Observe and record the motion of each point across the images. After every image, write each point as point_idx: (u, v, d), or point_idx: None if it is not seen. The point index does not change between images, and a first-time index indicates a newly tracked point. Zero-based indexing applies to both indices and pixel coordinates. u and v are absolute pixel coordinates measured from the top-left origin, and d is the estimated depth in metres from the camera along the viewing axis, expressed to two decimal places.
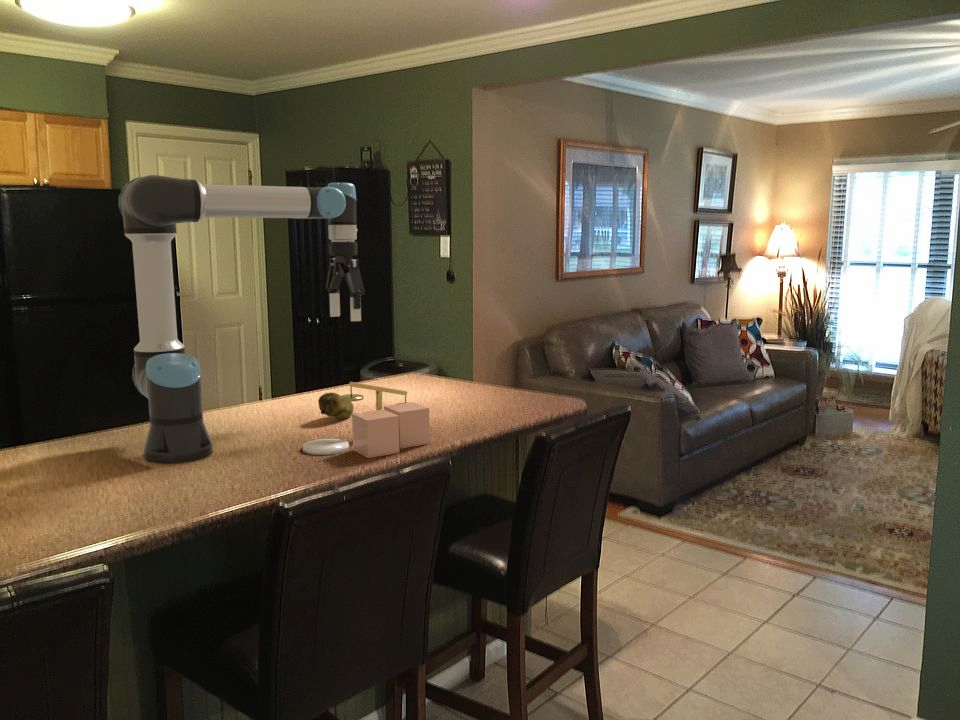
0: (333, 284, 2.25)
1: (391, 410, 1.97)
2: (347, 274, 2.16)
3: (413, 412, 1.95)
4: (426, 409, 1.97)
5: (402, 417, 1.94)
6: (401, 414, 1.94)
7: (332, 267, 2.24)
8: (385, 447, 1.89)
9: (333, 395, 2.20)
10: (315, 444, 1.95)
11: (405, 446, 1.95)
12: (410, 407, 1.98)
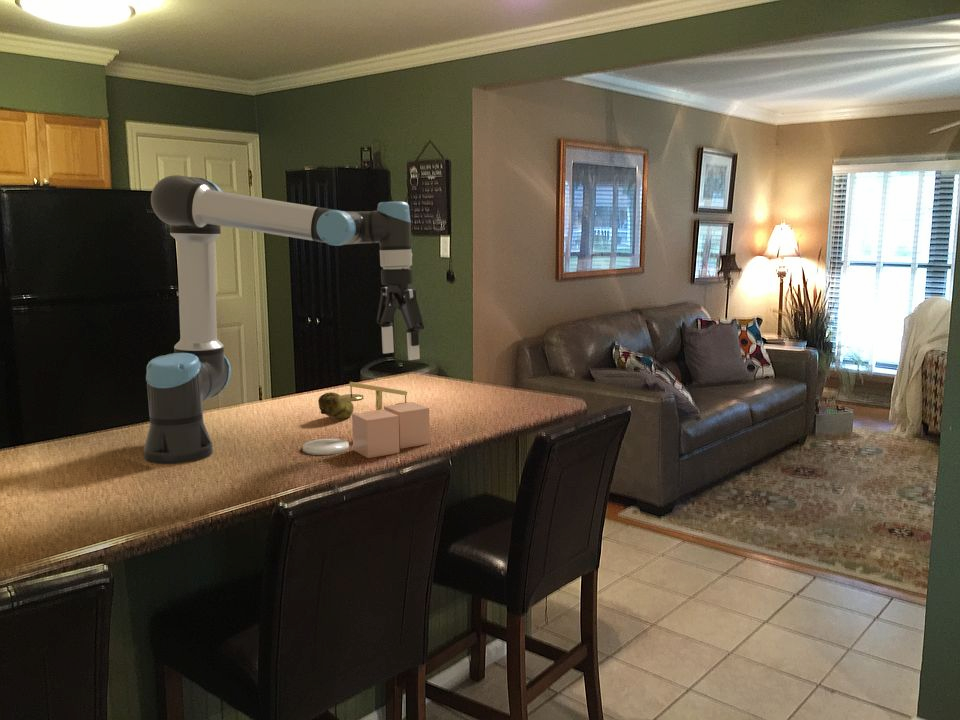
0: (386, 317, 1.97)
1: (391, 410, 1.97)
2: (403, 306, 1.89)
3: (413, 412, 1.95)
4: (426, 409, 1.97)
5: (402, 417, 1.94)
6: (401, 414, 1.94)
7: (384, 297, 1.97)
8: (385, 447, 1.89)
9: (333, 395, 2.20)
10: (315, 444, 1.95)
11: (405, 446, 1.95)
12: (410, 407, 1.98)
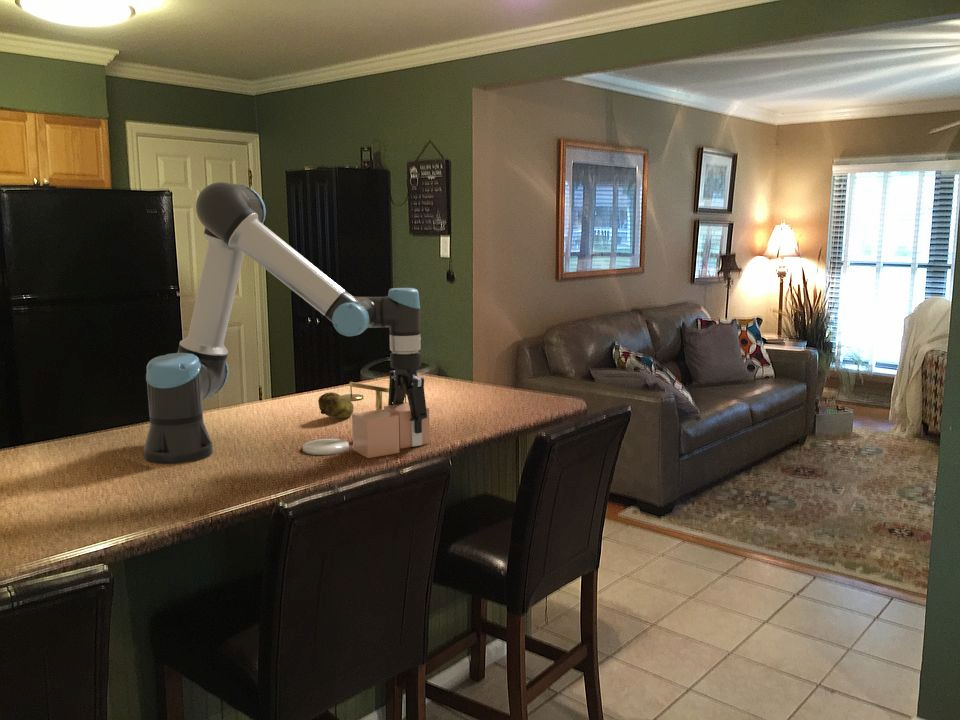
0: (396, 401, 2.01)
1: (391, 410, 1.97)
2: (409, 392, 1.95)
3: None
4: (426, 409, 1.97)
5: (402, 417, 1.94)
6: (401, 414, 1.94)
7: (393, 380, 2.02)
8: (385, 447, 1.89)
9: (333, 395, 2.20)
10: (315, 444, 1.95)
11: (405, 446, 1.95)
12: None
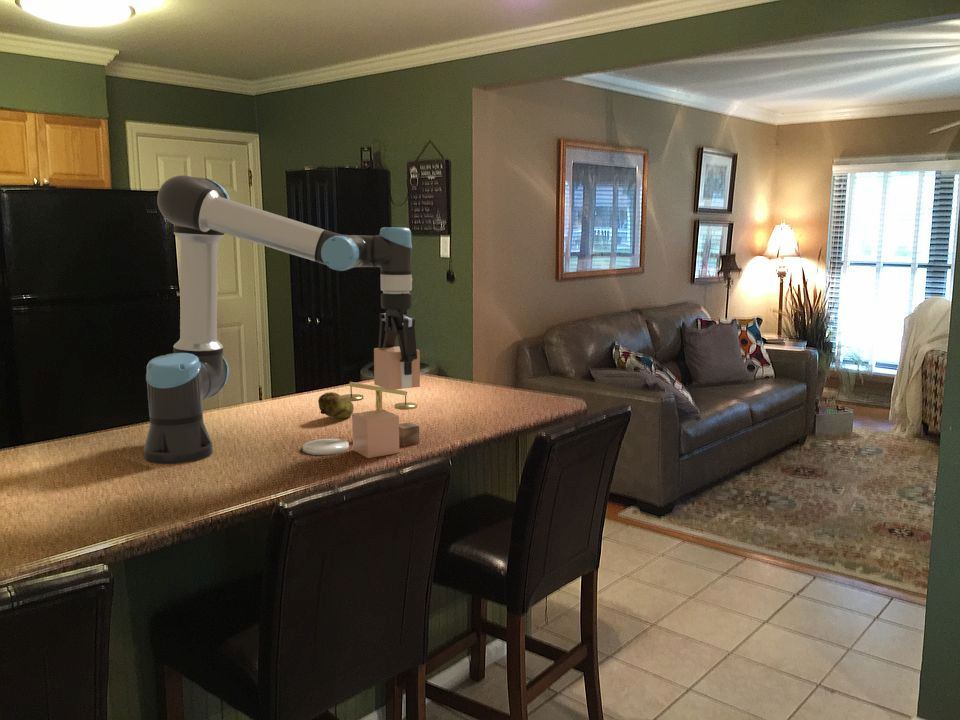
0: (387, 343, 1.98)
1: (381, 351, 1.94)
2: (400, 333, 1.92)
3: None
4: (417, 351, 1.94)
5: (392, 358, 1.91)
6: (391, 355, 1.91)
7: (383, 323, 1.99)
8: (385, 447, 1.89)
9: (333, 395, 2.20)
10: (315, 444, 1.95)
11: (395, 388, 1.93)
12: None
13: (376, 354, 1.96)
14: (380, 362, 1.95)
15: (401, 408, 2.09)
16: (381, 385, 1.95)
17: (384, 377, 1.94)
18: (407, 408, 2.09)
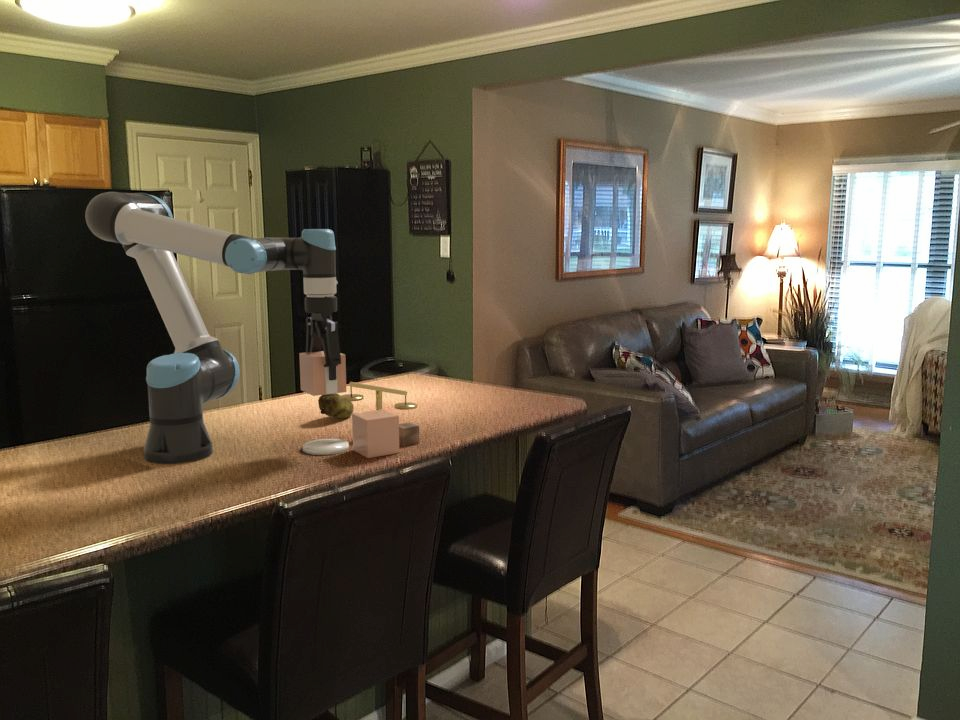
0: (313, 348, 1.93)
1: (305, 356, 1.89)
2: (324, 338, 1.87)
3: None
4: (342, 355, 1.90)
5: (315, 363, 1.86)
6: (314, 359, 1.86)
7: (310, 327, 1.94)
8: (385, 447, 1.89)
9: (333, 395, 2.20)
10: (315, 444, 1.95)
11: (319, 393, 1.88)
12: None
13: (301, 359, 1.91)
14: (305, 367, 1.90)
15: (401, 408, 2.09)
16: (306, 391, 1.90)
17: (309, 383, 1.89)
18: (407, 408, 2.09)
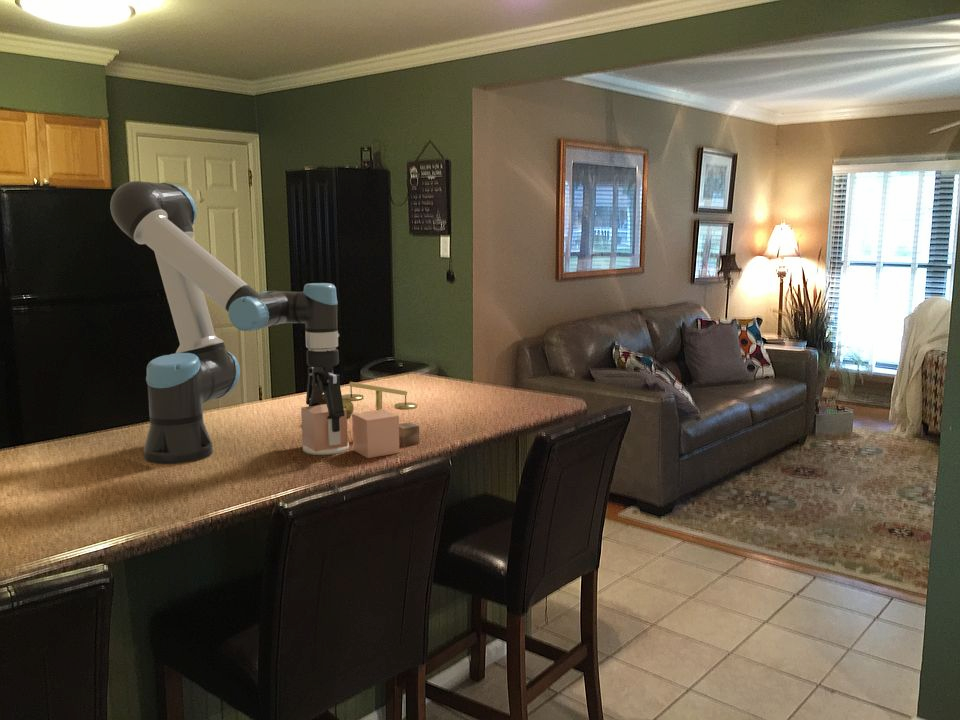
0: (313, 398, 1.96)
1: (307, 411, 1.91)
2: (326, 390, 1.89)
3: None
4: None
5: (317, 419, 1.88)
6: (316, 416, 1.88)
7: (311, 377, 1.96)
8: (385, 447, 1.89)
9: None
10: None
11: (321, 449, 1.90)
12: (327, 408, 1.93)
13: (303, 413, 1.93)
14: (306, 422, 1.92)
15: (401, 408, 2.09)
16: (308, 445, 1.92)
17: (310, 438, 1.91)
18: (407, 408, 2.09)
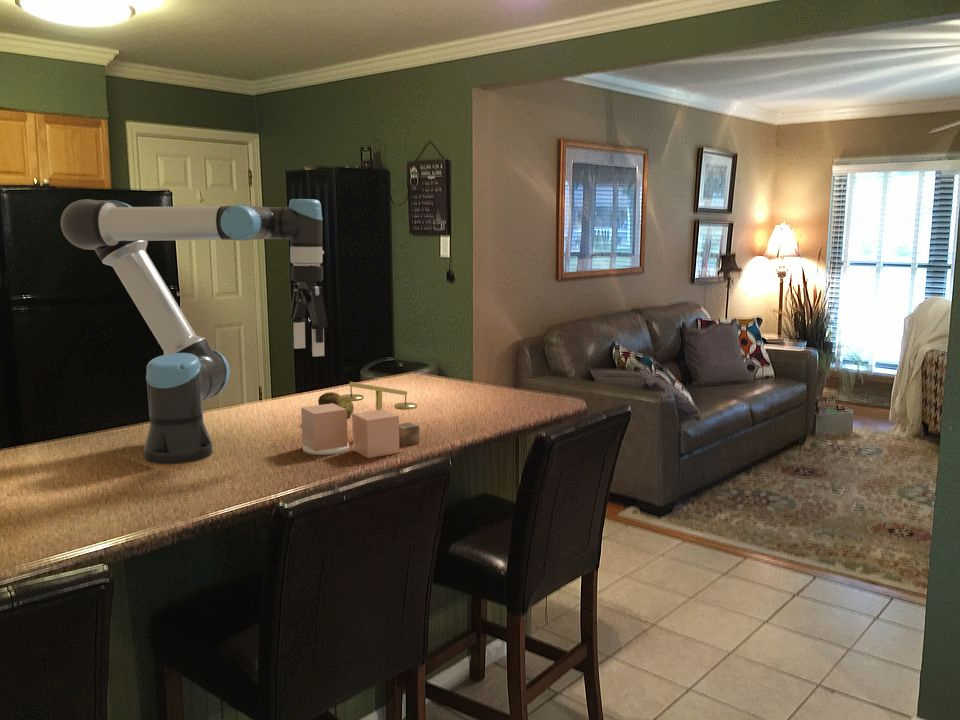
0: (297, 312, 1.99)
1: (307, 411, 1.91)
2: (310, 303, 1.91)
3: (329, 413, 1.90)
4: (343, 410, 1.92)
5: (317, 419, 1.88)
6: (316, 416, 1.88)
7: (296, 293, 1.99)
8: (385, 447, 1.89)
9: (333, 395, 2.20)
10: None
11: (321, 449, 1.90)
12: (327, 408, 1.93)
13: (303, 413, 1.93)
14: (306, 422, 1.92)
15: (401, 408, 2.09)
16: (308, 445, 1.92)
17: (310, 438, 1.91)
18: (407, 408, 2.09)
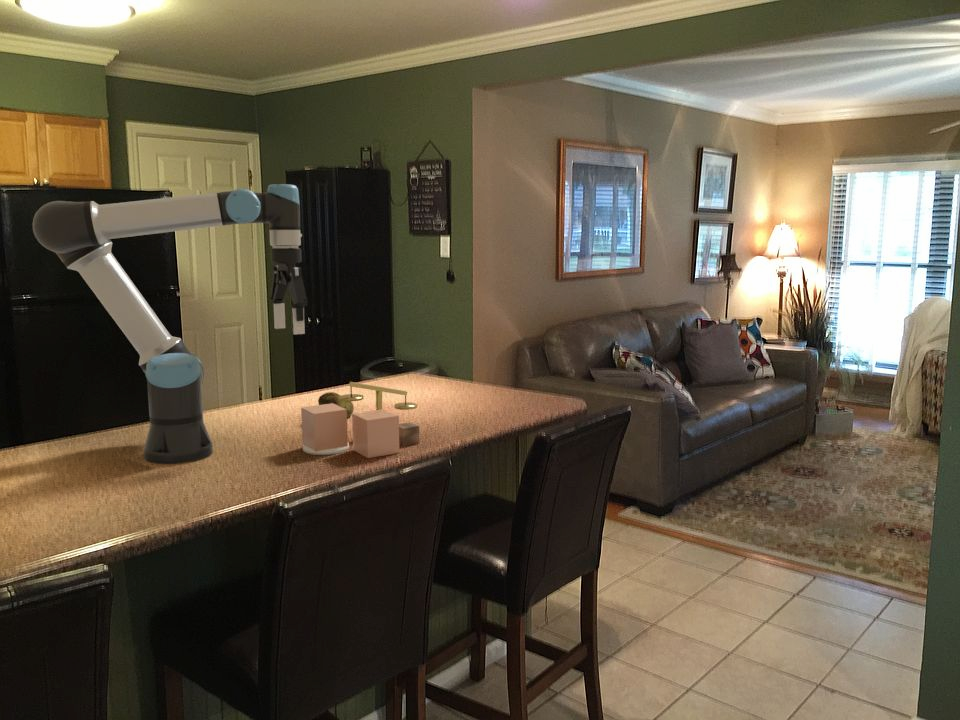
0: (277, 294, 2.08)
1: (307, 411, 1.91)
2: (289, 284, 2.00)
3: (329, 413, 1.90)
4: (343, 410, 1.92)
5: (317, 419, 1.88)
6: (316, 416, 1.88)
7: (276, 275, 2.08)
8: (385, 447, 1.89)
9: (333, 395, 2.20)
10: None
11: (321, 449, 1.90)
12: (327, 408, 1.93)
13: (303, 413, 1.93)
14: (306, 422, 1.92)
15: (401, 408, 2.09)
16: (308, 445, 1.92)
17: (310, 438, 1.91)
18: (407, 408, 2.09)
